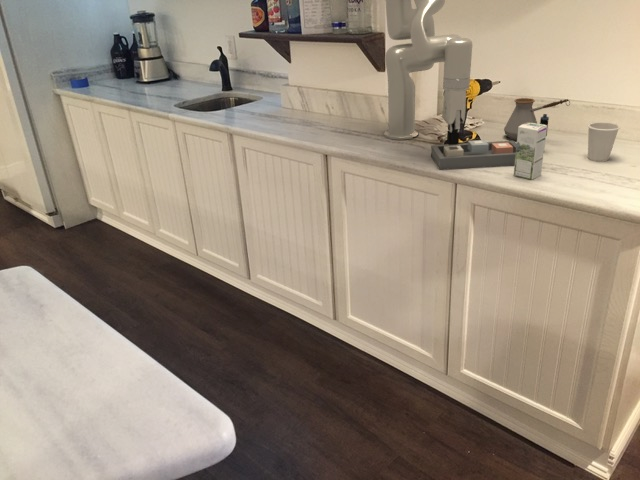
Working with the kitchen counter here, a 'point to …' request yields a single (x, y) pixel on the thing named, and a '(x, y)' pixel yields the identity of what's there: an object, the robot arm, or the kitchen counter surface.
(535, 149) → the syrup box
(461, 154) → the key ivory
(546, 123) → the vaping device
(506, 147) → the key coral
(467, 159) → the keypad base
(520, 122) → the coffee pot
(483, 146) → the key slate
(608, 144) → the dixie cup
